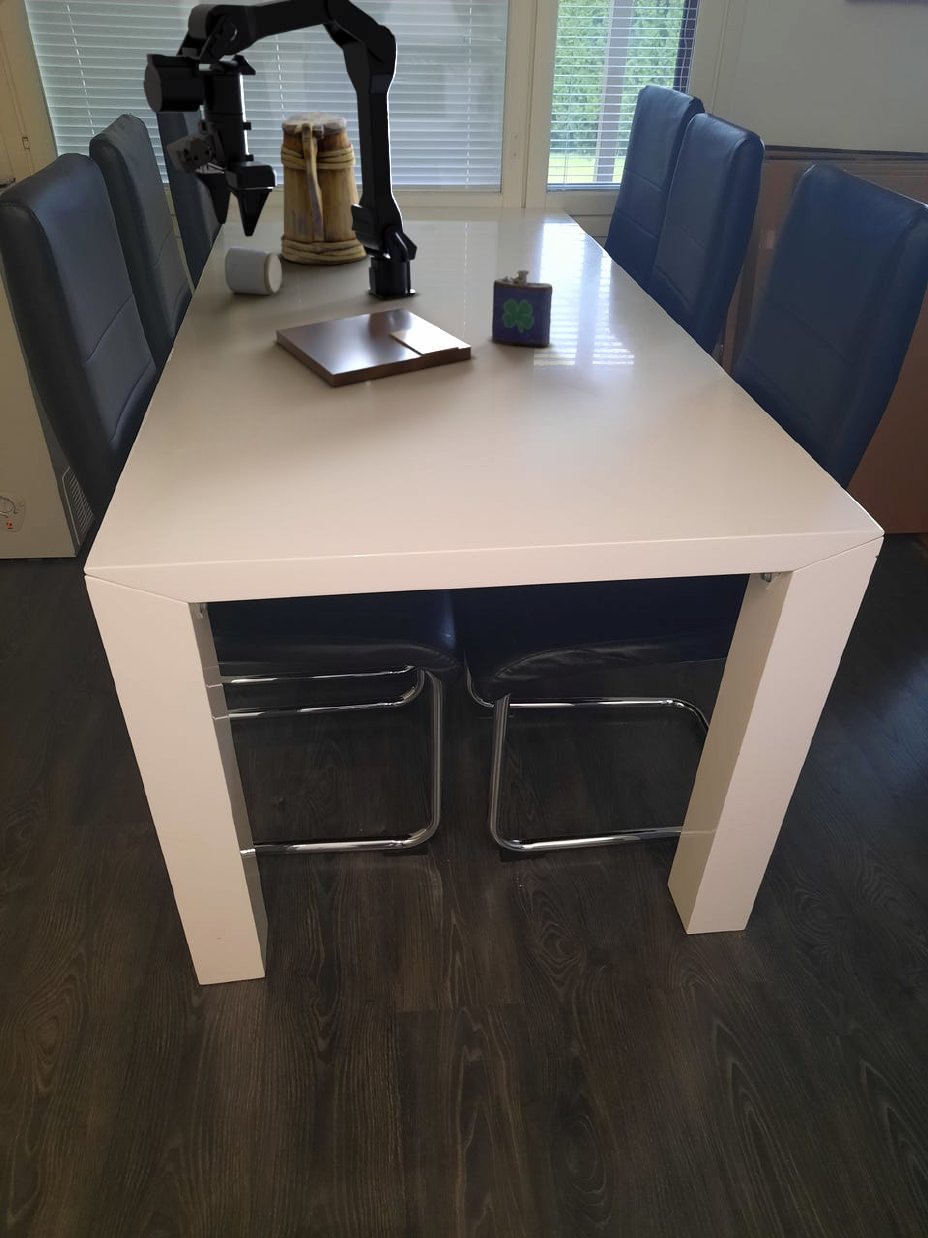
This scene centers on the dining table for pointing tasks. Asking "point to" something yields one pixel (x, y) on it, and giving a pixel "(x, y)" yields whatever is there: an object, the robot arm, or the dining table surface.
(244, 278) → the ceramic mug
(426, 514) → the dining table surface
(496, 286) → the flask
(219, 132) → the robot arm
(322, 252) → the tankard
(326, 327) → the serving board
